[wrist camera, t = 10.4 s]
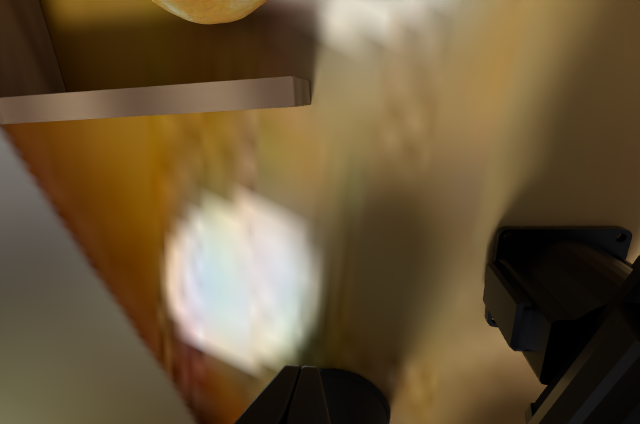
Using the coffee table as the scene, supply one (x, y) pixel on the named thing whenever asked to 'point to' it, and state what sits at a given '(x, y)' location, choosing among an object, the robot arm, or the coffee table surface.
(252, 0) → the fruit
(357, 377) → the aerosol can
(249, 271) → the coffee table surface
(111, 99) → the tray
